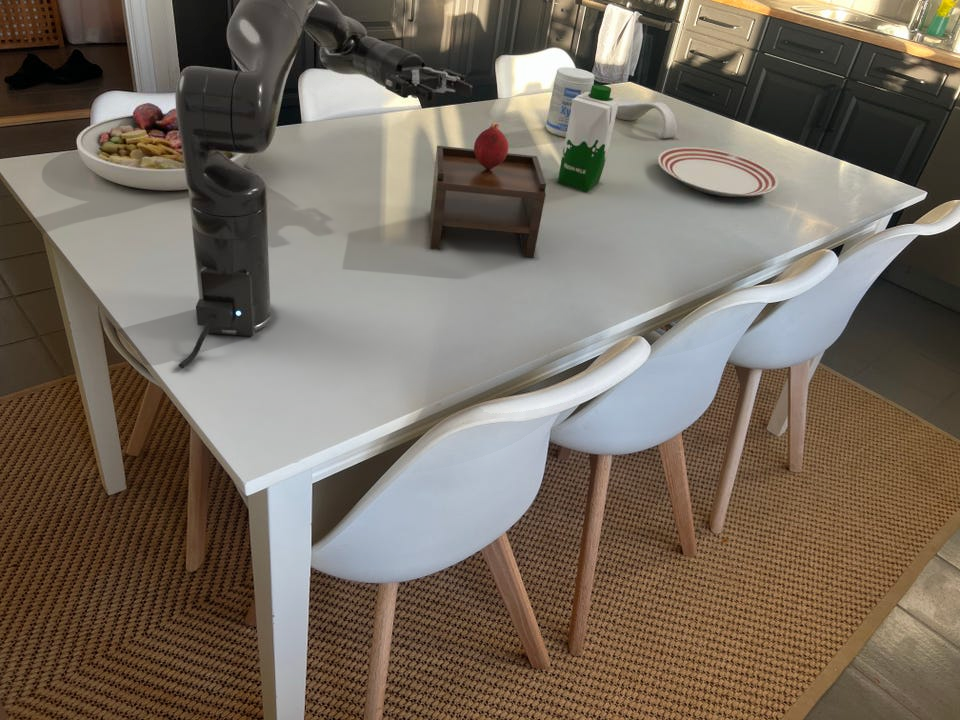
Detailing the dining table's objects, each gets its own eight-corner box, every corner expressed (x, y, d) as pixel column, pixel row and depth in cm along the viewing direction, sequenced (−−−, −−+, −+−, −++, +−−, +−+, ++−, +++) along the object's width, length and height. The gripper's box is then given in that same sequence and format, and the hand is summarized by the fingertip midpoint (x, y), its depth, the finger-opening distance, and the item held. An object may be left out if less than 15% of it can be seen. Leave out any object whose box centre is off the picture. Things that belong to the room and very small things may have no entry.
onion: (501, 178, 127) (508, 131, 123) (468, 171, 128) (474, 125, 123) (507, 167, 132) (514, 121, 127) (475, 160, 132) (481, 115, 128)
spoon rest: (594, 111, 209) (600, 84, 205) (625, 108, 215) (631, 83, 211) (654, 141, 194) (661, 113, 190) (685, 137, 200) (693, 110, 196)
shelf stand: (533, 258, 131) (547, 186, 124) (430, 248, 129) (437, 175, 122) (525, 223, 143) (537, 155, 135) (430, 214, 140) (436, 145, 133)
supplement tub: (558, 139, 185) (570, 78, 177) (538, 126, 192) (548, 66, 184) (590, 137, 190) (603, 77, 181) (569, 124, 196) (581, 66, 188)
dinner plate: (728, 215, 159) (733, 200, 157) (631, 168, 175) (634, 154, 173) (796, 194, 175) (801, 181, 173) (701, 153, 191) (705, 140, 189)
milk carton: (603, 183, 165) (625, 90, 154) (589, 195, 158) (611, 99, 147) (567, 172, 168) (586, 80, 156) (551, 183, 161) (569, 88, 150)
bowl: (277, 185, 142) (276, 144, 138) (107, 208, 126) (99, 162, 121) (218, 131, 161) (215, 94, 156) (63, 145, 144) (55, 104, 140)
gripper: (364, 49, 133) (423, 75, 124) (426, 45, 141) (485, 69, 133) (362, 92, 137) (419, 121, 128) (423, 85, 146) (479, 111, 137)
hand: (452, 94), depth 130 cm, fingers open, 8 cm apart
